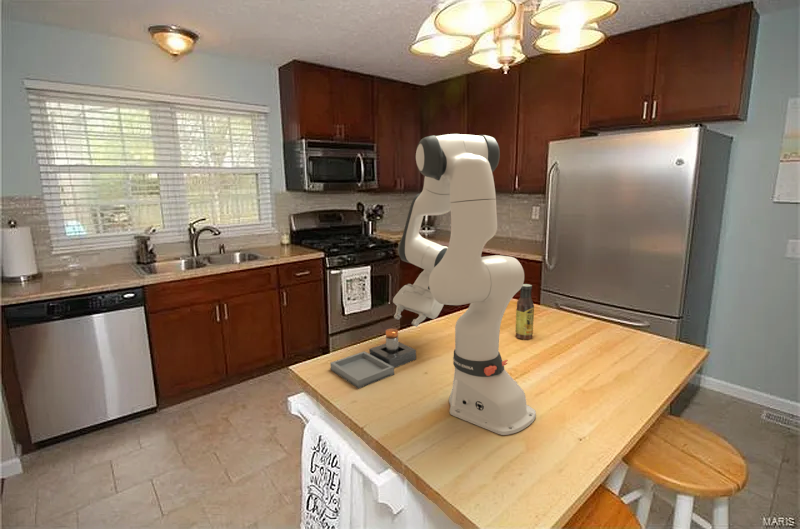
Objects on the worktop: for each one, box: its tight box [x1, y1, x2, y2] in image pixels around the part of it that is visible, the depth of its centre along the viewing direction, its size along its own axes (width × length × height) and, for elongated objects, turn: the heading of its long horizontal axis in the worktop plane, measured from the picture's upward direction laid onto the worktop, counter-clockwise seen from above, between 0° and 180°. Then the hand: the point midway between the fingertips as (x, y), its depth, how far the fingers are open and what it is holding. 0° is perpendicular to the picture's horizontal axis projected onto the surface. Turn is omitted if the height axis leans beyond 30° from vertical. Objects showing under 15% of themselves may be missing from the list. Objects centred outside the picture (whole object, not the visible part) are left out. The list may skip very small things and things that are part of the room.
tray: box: [329, 350, 395, 390], centre depth 127 cm, size 16×13×2 cm
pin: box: [385, 328, 399, 354], centre depth 135 cm, size 4×4×10 cm
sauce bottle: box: [514, 283, 535, 340], centre depth 149 cm, size 7×6×20 cm
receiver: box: [368, 341, 417, 369], centre depth 135 cm, size 11×11×4 cm
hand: (404, 321), depth 137 cm, fingers open, 8 cm apart
